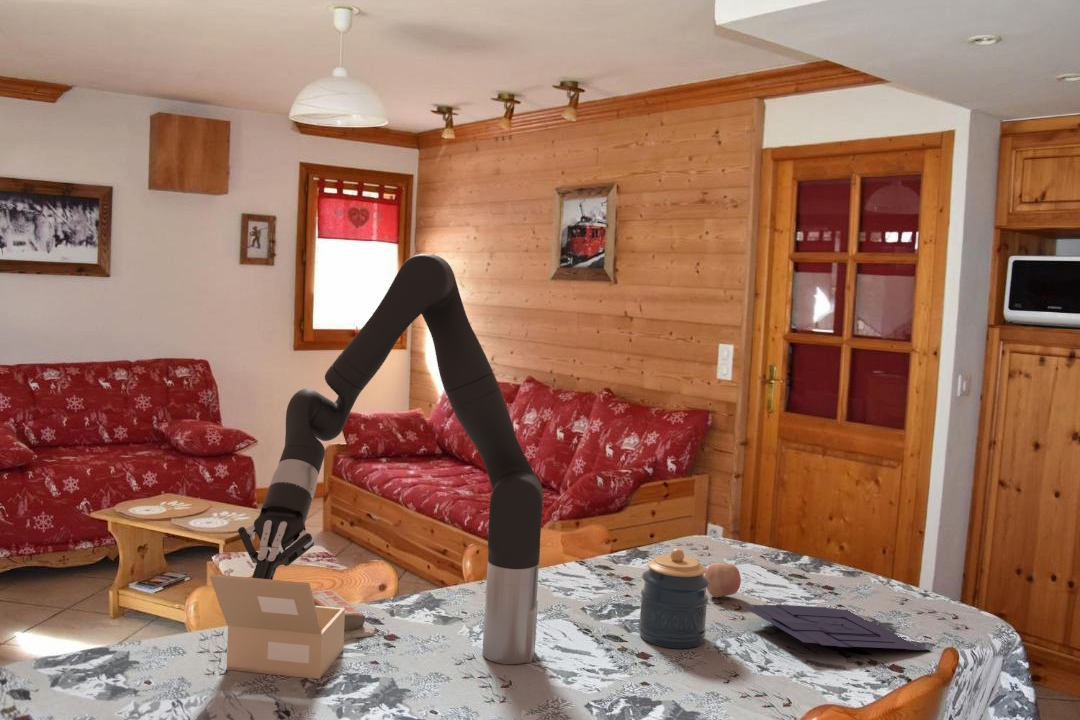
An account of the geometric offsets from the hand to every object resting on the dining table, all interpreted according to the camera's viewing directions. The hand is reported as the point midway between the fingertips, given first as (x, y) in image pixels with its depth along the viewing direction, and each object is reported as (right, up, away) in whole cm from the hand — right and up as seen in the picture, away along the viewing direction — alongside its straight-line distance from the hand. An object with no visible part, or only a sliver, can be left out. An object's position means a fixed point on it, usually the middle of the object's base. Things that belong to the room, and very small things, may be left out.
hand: (260, 585), depth 155 cm
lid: (0, -4, +3) cm, 5 cm away
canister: (+70, -19, +36) cm, 81 cm away
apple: (+84, -17, +63) cm, 107 cm away
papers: (+103, -20, +43) cm, 113 cm away
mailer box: (+1, -16, +14) cm, 21 cm away
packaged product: (+4, -15, +33) cm, 36 cm away
